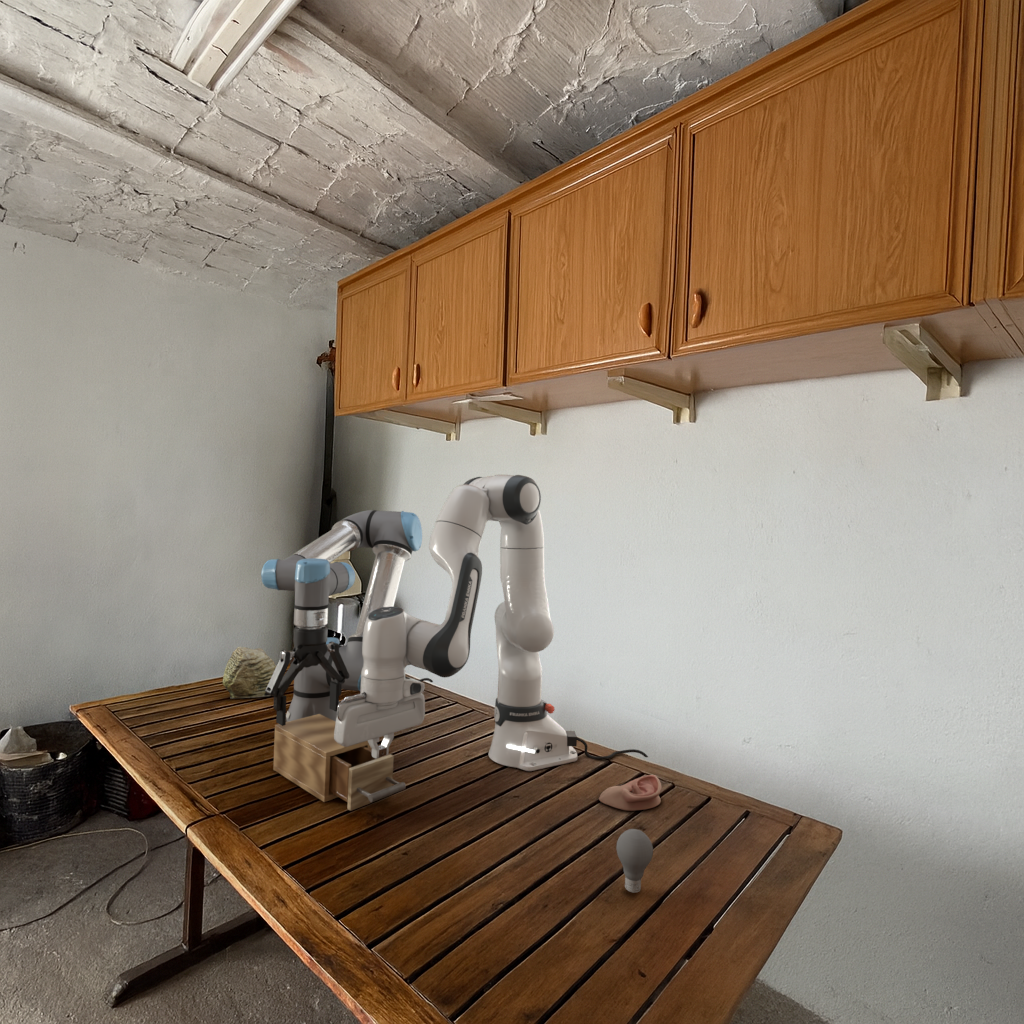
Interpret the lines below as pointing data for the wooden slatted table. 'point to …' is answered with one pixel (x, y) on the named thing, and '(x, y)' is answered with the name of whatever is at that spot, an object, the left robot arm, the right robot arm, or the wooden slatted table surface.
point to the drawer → (362, 777)
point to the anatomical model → (634, 794)
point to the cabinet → (308, 753)
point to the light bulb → (634, 857)
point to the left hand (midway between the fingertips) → (308, 716)
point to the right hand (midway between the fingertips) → (379, 756)
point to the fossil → (248, 673)
